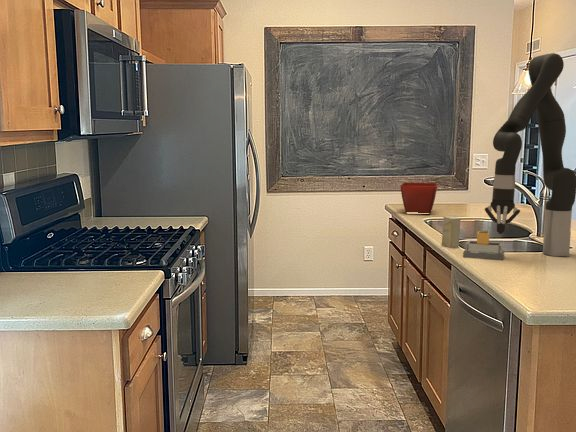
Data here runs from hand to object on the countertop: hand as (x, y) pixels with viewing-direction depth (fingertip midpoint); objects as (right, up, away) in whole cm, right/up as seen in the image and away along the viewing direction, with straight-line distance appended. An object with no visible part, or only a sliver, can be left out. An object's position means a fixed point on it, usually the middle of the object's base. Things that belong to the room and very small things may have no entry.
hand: (500, 233), depth 224 cm
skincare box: (-13, -6, +23) cm, 27 cm away
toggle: (-6, -6, +3) cm, 9 cm away
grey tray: (-5, -9, +3) cm, 11 cm away
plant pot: (-5, +8, +118) cm, 119 cm away
